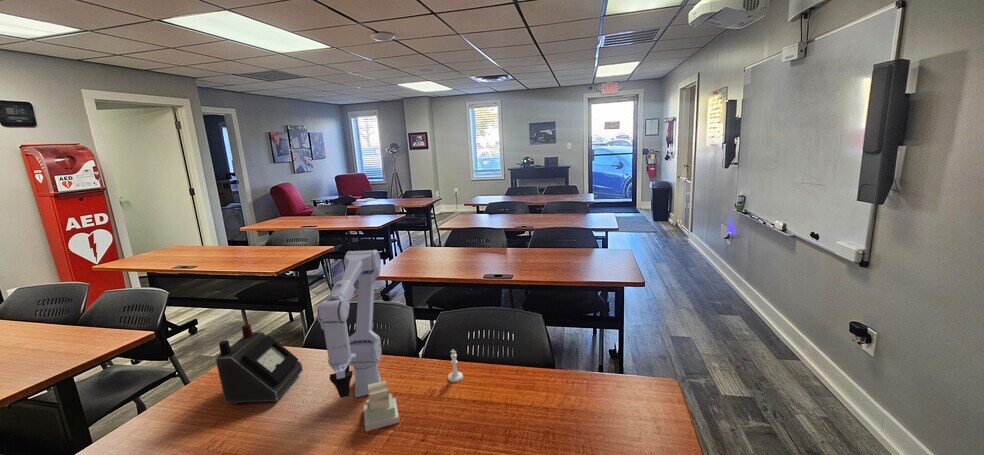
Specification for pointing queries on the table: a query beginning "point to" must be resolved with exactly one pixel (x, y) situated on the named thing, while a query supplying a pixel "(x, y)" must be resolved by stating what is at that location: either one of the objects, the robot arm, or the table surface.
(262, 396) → the voltmeter
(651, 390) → the table surface
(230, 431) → the table surface
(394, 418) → the tower base
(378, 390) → the maple cube
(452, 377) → the chess piece
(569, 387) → the table surface
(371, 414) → the tower top
